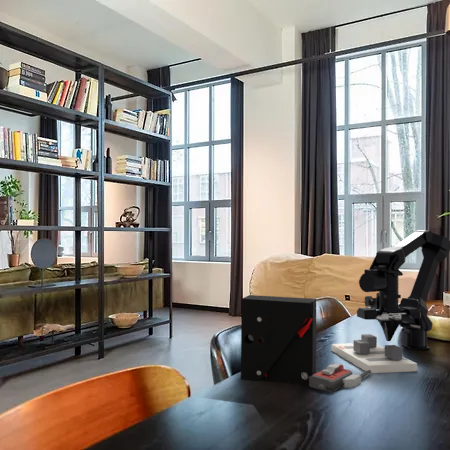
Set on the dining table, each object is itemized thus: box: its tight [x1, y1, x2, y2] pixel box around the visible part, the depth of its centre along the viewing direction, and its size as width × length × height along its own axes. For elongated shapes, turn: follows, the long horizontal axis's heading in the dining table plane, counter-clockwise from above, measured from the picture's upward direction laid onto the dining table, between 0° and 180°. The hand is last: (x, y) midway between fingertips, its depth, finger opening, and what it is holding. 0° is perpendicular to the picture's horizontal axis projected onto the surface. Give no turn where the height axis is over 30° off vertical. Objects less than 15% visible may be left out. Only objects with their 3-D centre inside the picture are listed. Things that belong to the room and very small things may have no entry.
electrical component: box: [240, 294, 317, 386], centre depth 116 cm, size 18×10×20 cm, turn 71°
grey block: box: [353, 339, 370, 354], centre depth 133 cm, size 3×4×3 cm
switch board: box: [331, 342, 418, 374], centre depth 133 cm, size 14×24×2 cm, turn 10°
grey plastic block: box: [360, 333, 378, 347], centre depth 141 cm, size 3×4×3 cm
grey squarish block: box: [384, 344, 403, 360], centre depth 127 cm, size 3×4×3 cm
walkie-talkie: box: [308, 362, 372, 393], centre depth 113 cm, size 9×4×20 cm
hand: (388, 340), depth 142 cm, fingers closed
